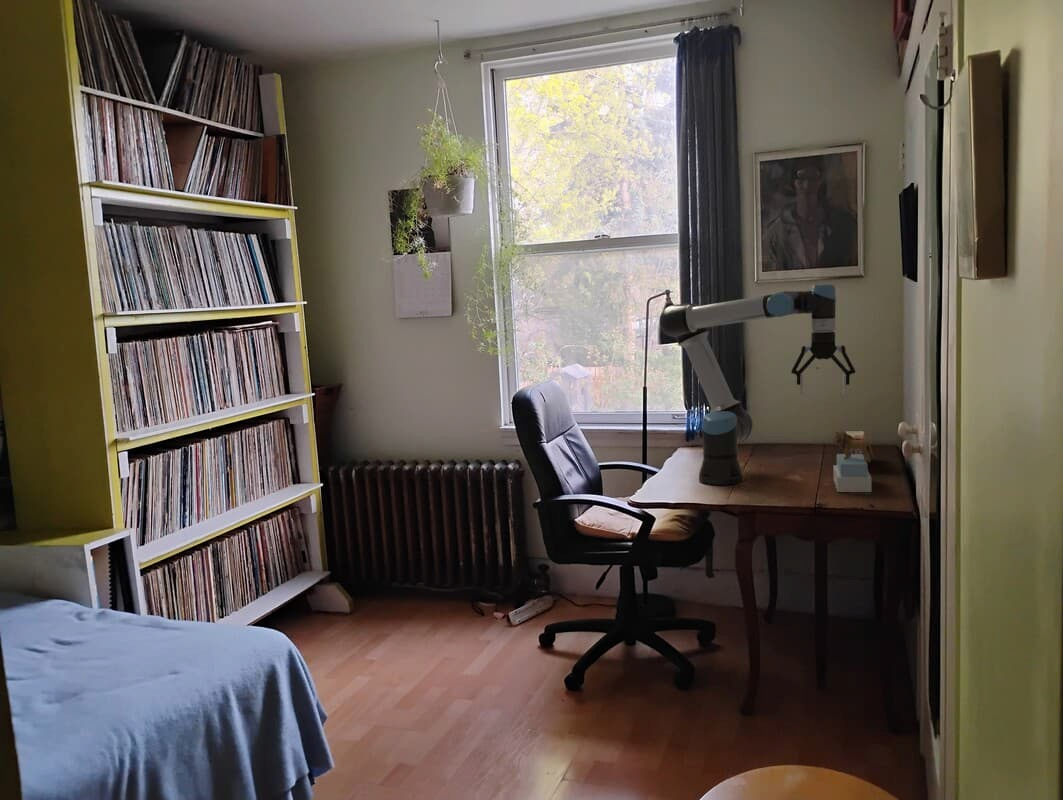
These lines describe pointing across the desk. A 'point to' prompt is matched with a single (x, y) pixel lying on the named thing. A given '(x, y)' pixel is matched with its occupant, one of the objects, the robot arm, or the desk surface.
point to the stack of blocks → (857, 436)
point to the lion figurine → (852, 445)
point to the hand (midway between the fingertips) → (822, 394)
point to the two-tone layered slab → (852, 474)
